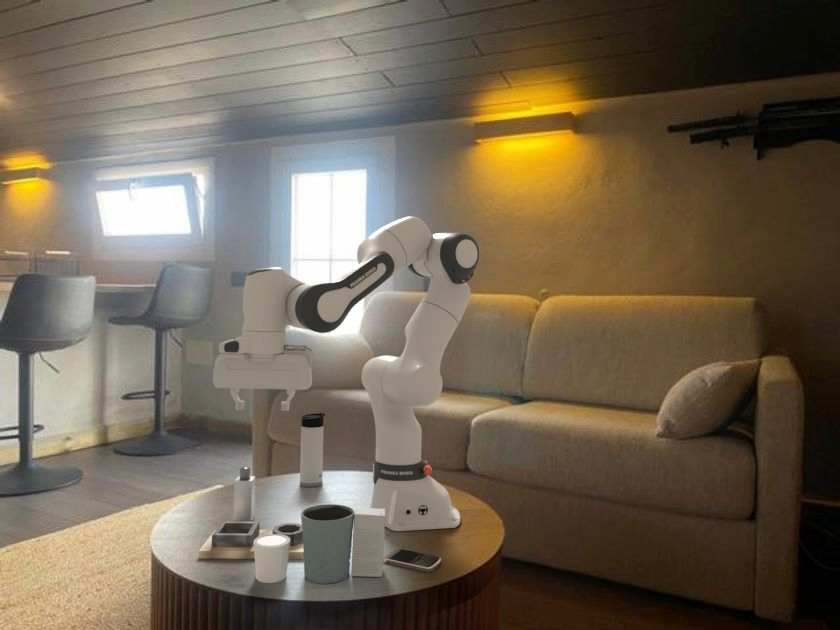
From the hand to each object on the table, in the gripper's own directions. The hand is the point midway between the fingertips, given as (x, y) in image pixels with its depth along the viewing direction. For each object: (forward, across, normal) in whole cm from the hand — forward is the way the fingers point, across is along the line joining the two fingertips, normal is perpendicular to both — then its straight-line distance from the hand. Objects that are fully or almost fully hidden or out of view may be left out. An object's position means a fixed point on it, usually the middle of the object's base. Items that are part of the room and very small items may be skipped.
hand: (262, 410), depth 135 cm
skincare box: (+29, -23, +12) cm, 39 cm away
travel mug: (+29, -5, -46) cm, 55 cm away
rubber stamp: (+29, +7, -16) cm, 34 cm away
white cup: (+29, -5, +14) cm, 33 cm away
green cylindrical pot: (+29, -16, +13) cm, 36 cm away
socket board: (+29, 0, 0) cm, 29 cm away
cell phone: (+30, -32, +7) cm, 44 cm away
